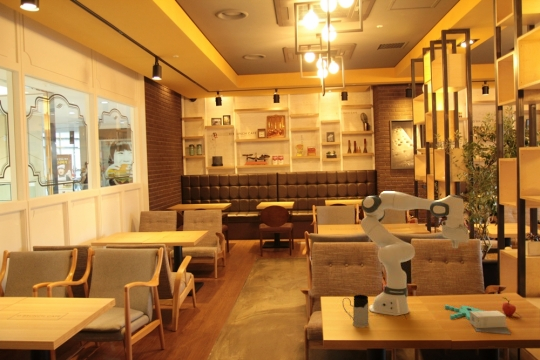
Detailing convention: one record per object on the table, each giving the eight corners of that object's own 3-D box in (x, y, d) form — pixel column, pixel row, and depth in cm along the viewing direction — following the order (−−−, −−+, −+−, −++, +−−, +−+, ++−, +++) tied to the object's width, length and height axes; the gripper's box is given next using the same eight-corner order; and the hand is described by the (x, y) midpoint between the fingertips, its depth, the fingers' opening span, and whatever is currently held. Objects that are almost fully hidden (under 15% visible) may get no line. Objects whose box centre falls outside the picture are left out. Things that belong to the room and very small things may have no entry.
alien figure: (450, 320, 258) (489, 322, 254) (450, 316, 258) (489, 318, 254) (444, 308, 278) (480, 310, 274) (444, 304, 278) (481, 306, 274)
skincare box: (476, 328, 243) (506, 328, 243) (476, 315, 243) (506, 315, 243) (469, 322, 252) (498, 322, 252) (469, 310, 251) (498, 310, 251)
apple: (511, 313, 267) (511, 295, 266) (518, 317, 260) (518, 299, 259) (498, 313, 267) (498, 296, 266) (504, 317, 260) (504, 299, 259)
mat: (476, 331, 240) (476, 330, 240) (472, 322, 253) (472, 321, 253) (510, 334, 235) (510, 334, 235) (505, 325, 248) (505, 324, 248)
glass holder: (367, 328, 246) (367, 299, 245) (341, 325, 251) (340, 297, 250) (370, 322, 254) (370, 295, 254) (344, 319, 259) (344, 292, 259)
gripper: (472, 225, 258) (472, 250, 259) (449, 221, 278) (449, 244, 278) (462, 226, 256) (462, 251, 257) (440, 221, 276) (439, 245, 277)
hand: (455, 247), depth 268 cm, fingers closed
